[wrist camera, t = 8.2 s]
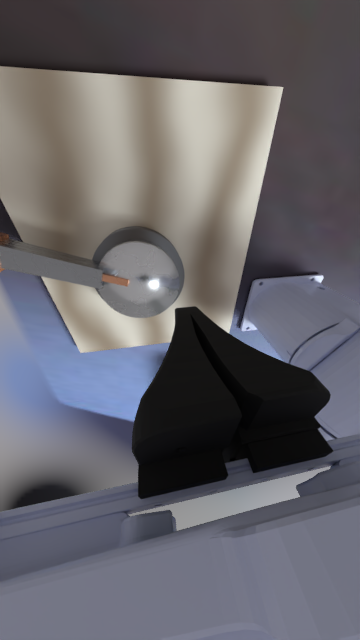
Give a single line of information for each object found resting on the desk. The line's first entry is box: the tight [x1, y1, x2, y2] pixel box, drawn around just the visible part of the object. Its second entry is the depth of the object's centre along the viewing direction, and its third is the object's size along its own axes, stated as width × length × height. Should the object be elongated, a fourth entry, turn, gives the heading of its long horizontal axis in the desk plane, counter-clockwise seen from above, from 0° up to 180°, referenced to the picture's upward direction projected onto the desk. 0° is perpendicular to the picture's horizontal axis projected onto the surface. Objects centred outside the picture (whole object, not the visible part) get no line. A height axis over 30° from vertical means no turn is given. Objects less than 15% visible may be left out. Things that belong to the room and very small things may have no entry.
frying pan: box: [0, 232, 179, 318], centre depth 14 cm, size 7×16×2 cm, turn 71°
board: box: [0, 66, 283, 353], centre depth 17 cm, size 20×22×2 cm
